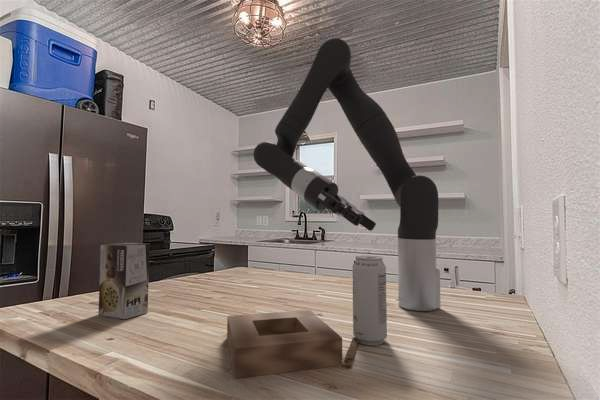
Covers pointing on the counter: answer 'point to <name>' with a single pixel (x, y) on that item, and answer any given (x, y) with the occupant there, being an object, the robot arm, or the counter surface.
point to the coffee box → (124, 280)
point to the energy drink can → (369, 300)
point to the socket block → (281, 343)
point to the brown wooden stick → (350, 354)
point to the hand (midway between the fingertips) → (367, 224)
